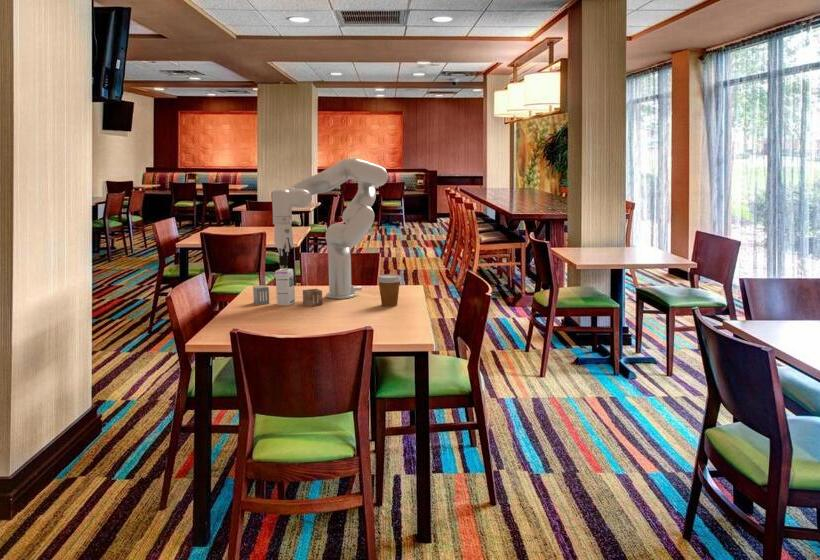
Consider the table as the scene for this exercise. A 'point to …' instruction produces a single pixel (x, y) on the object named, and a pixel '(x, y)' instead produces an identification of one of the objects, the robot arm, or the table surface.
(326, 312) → the table surface
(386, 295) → the disposable coffee cup
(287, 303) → the syrup box
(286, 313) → the table surface
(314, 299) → the walnut cube
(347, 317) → the table surface
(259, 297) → the slate block
